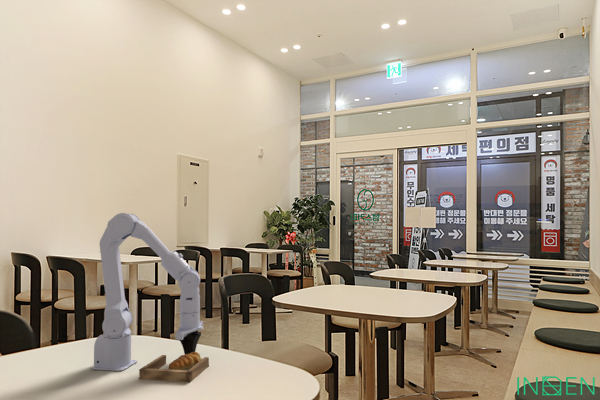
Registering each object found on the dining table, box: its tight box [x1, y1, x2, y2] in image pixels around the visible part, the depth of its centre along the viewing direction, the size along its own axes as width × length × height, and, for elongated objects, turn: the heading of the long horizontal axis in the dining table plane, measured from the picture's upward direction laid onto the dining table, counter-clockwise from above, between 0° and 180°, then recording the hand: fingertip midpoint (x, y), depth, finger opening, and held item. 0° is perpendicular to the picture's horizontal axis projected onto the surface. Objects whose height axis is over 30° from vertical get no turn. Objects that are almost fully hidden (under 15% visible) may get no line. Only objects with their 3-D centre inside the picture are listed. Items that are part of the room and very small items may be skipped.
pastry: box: [167, 351, 203, 371], centre depth 118 cm, size 9×7×4 cm
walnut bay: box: [138, 354, 210, 383], centre depth 115 cm, size 14×12×2 cm
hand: (189, 358), depth 124 cm, fingers closed
